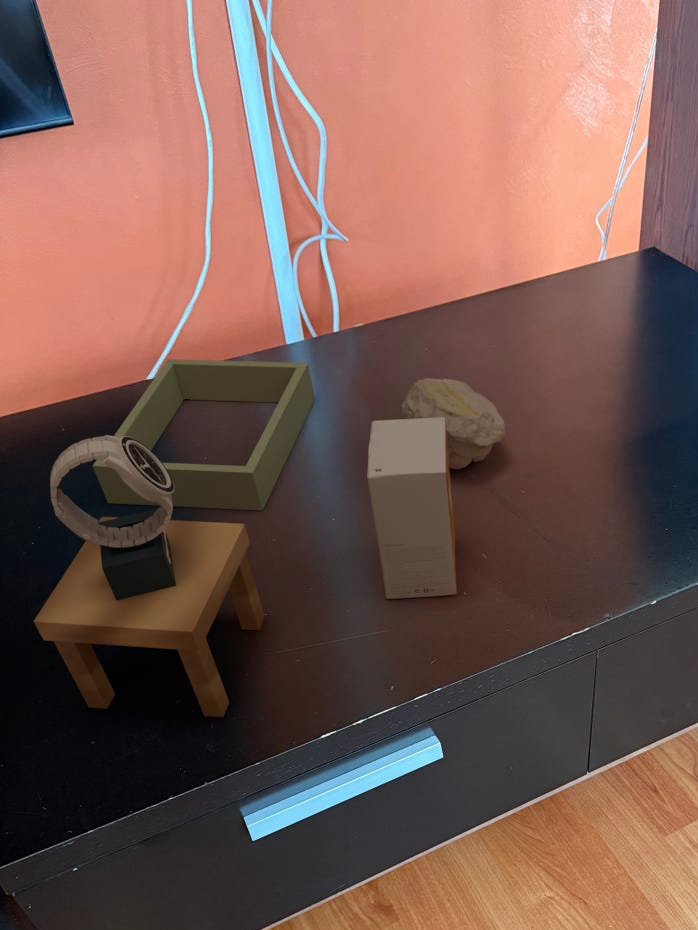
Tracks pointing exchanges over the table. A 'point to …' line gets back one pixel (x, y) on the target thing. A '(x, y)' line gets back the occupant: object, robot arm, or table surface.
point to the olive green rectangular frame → (218, 384)
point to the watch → (130, 537)
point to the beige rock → (457, 417)
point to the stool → (155, 610)
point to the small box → (412, 506)
